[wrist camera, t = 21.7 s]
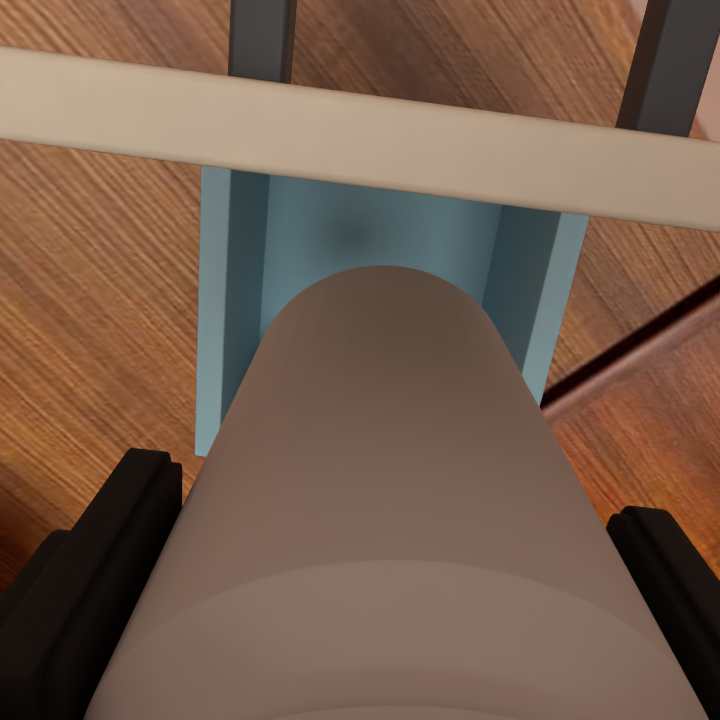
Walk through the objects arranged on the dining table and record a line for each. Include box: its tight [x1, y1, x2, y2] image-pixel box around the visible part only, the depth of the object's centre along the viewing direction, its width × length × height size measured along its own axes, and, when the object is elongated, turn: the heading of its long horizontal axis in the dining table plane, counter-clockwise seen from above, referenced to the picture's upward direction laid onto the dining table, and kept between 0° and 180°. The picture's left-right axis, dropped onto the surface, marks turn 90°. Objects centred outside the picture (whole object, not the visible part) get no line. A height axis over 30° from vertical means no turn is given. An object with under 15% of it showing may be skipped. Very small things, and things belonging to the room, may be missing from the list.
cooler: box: [195, 166, 590, 456], centre depth 24 cm, size 12×12×9 cm
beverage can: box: [83, 265, 709, 720], centre depth 10 cm, size 6×6×12 cm
